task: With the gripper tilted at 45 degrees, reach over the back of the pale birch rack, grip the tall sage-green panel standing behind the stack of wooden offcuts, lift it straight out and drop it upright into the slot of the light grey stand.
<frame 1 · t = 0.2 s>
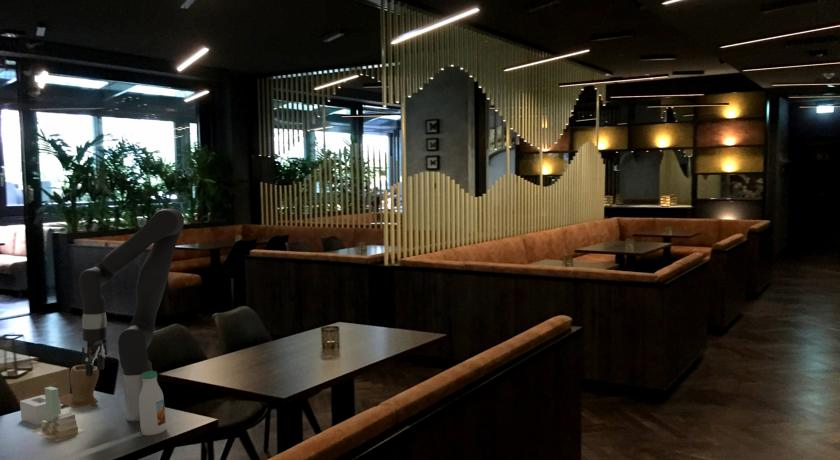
hand: (95, 372, 229), 18 cm above the table, tool pointing down, fingers open, 8 cm apart
sheet stand: (41, 422, 234), on the table
offcut stack: (65, 433, 218), point 1 cm above the table, touching rack
tall sheet: (54, 429, 222), point 1 cm above the table, touching rack
stone cup: (81, 405, 252), on the table
rack: (58, 435, 221), on the table
milk bottle: (153, 432, 220), on the table
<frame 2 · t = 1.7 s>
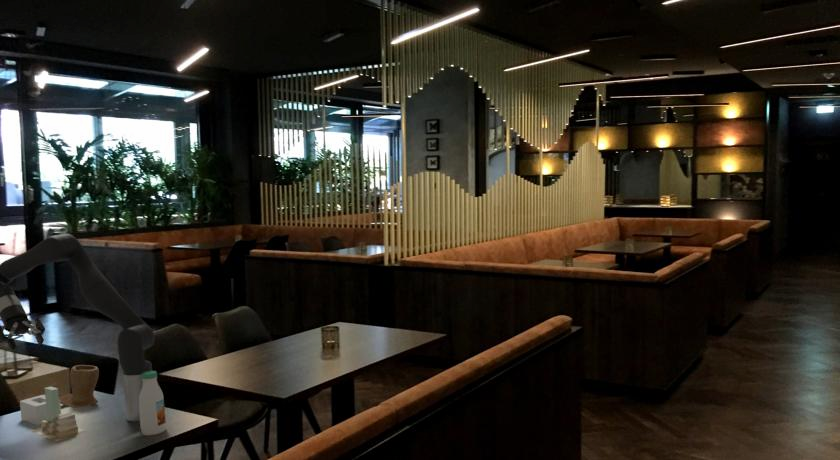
hand: (28, 346, 229), 28 cm above the table, tool tilted 45°, fingers open, 8 cm apart
nothing on the table moved.
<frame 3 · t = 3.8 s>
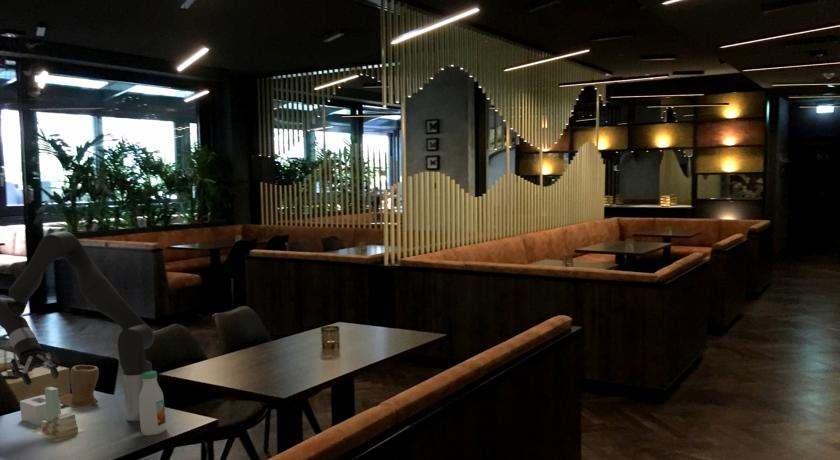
hand: (43, 380, 224), 17 cm above the table, tool tilted 45°, fingers open, 8 cm apart
nothing on the table moved.
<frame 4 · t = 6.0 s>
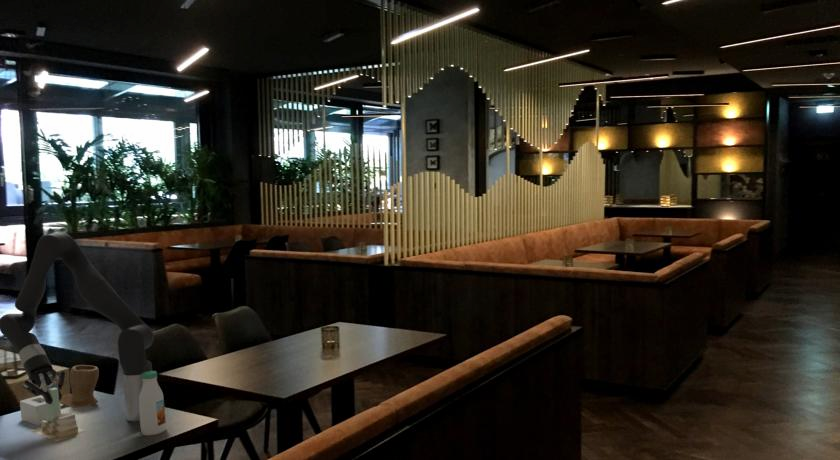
hand: (55, 401, 220), 11 cm above the table, tool tilted 45°, fingers closed, pressing on tall sheet
tall sheet: (54, 429, 222), point 1 cm above the table, touching gripper, rack
everything else where it was.
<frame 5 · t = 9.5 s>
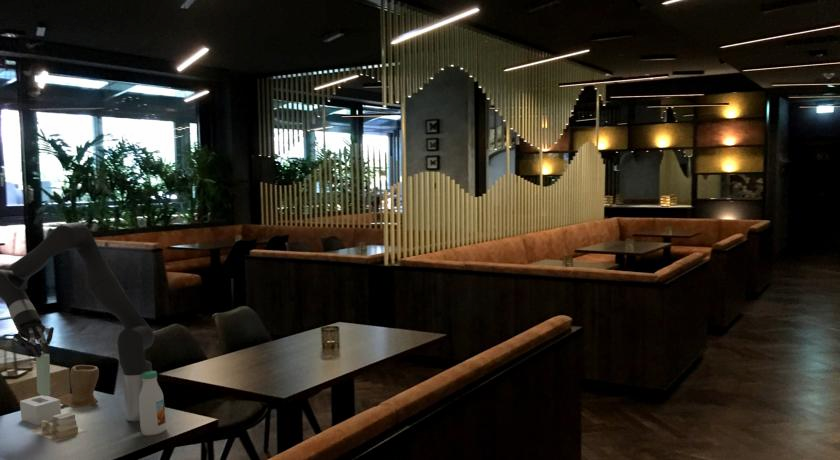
hand: (43, 354, 225), 26 cm above the table, tool tilted 45°, fingers closed on tall sheet
tall sheet: (43, 393, 227), point 12 cm above the table, tilted 6°, touching gripper
everything else where it was.
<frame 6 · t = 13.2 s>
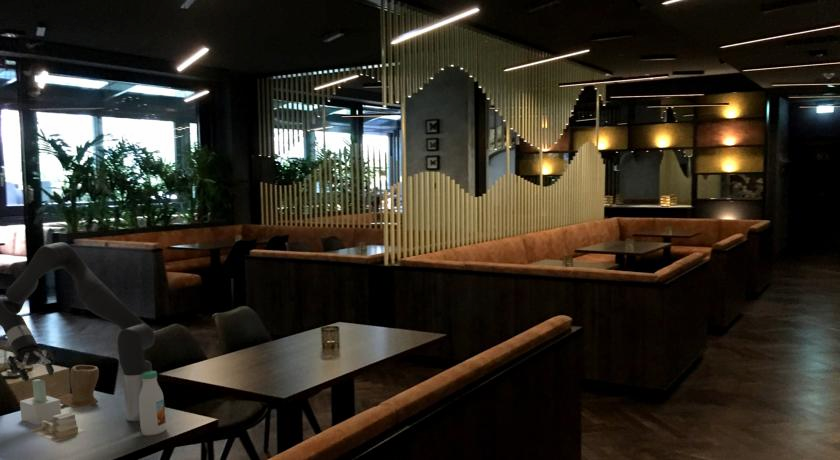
hand: (39, 376, 232), 17 cm above the table, tool tilted 45°, fingers open, 7 cm apart
tall sheet: (42, 419, 233), point 1 cm above the table, touching sheet stand
everything else where it was.
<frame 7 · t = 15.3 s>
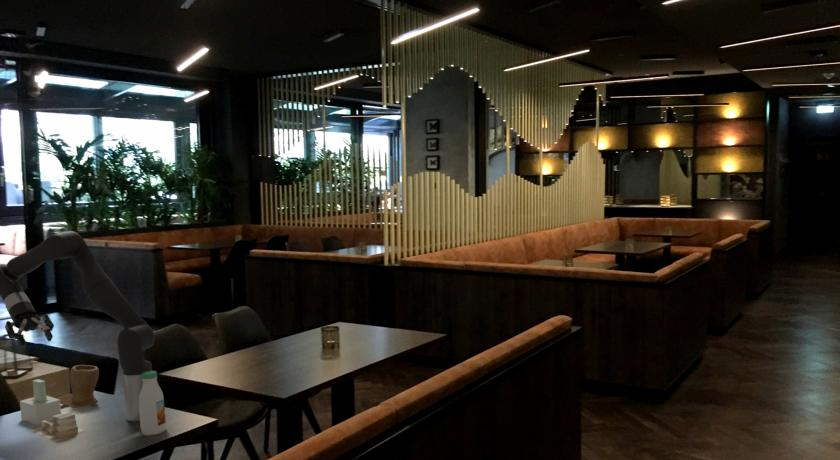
hand: (37, 342, 231), 29 cm above the table, tool tilted 45°, fingers open, 8 cm apart
nothing on the table moved.
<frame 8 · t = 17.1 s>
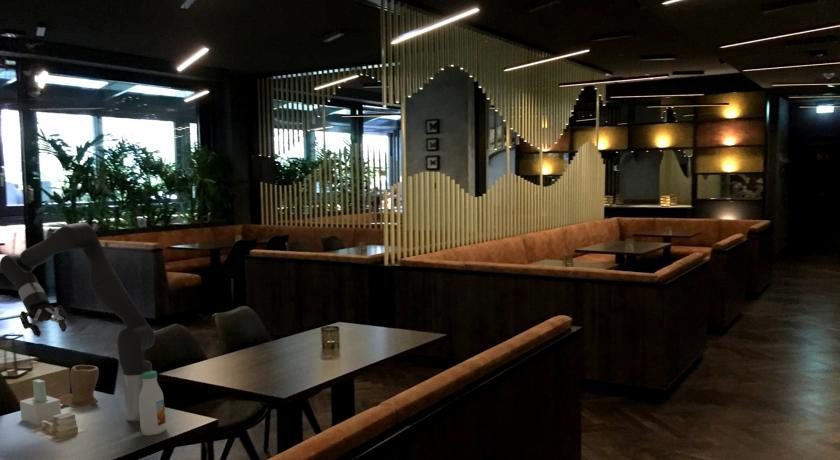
hand: (52, 332, 232), 32 cm above the table, tool tilted 45°, fingers open, 8 cm apart
nothing on the table moved.
at the end: tall sheet 0.4 cm off-centre on the sheet stand, point 1.0 cm above the sheet stand's base; the gripper is holding nothing; offcut stack moved 0.0 cm from its start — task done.
